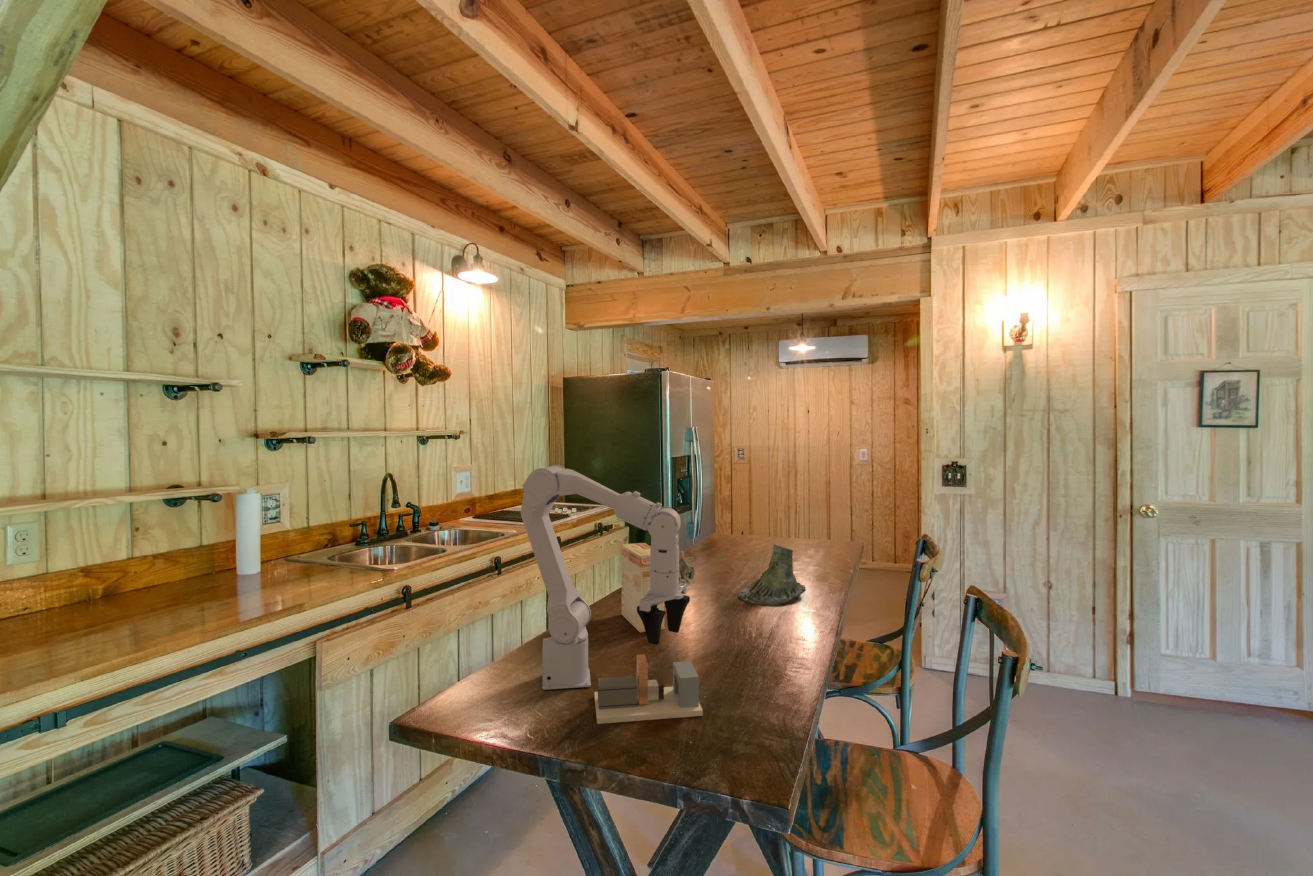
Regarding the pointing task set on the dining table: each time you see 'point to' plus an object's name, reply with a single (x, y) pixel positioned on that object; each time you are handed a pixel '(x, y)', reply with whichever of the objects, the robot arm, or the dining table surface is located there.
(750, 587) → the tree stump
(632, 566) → the coffeecake box
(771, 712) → the dining table surface
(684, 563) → the ceramic cottage
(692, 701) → the socket block
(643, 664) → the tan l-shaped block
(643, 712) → the cream rectangular panel
